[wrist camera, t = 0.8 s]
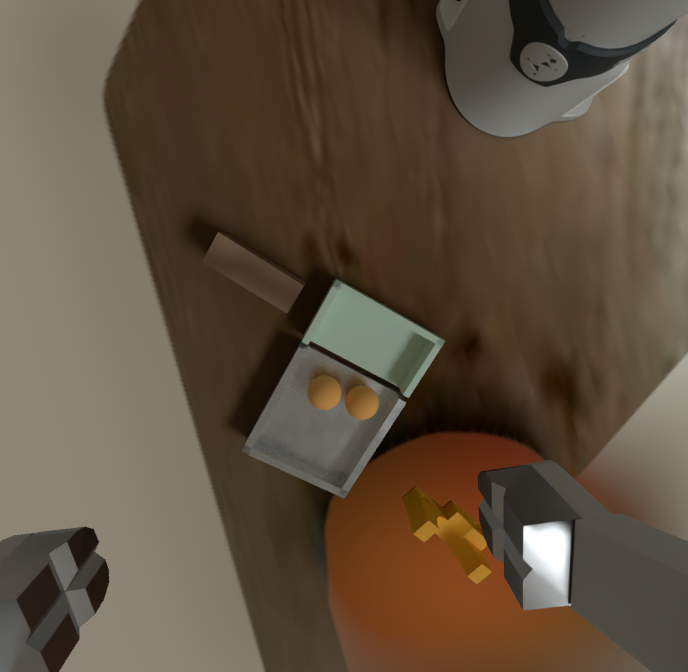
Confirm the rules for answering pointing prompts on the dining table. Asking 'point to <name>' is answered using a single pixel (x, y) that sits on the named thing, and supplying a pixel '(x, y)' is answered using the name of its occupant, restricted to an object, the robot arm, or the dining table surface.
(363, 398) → the ball
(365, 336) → the tray
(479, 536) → the pipe clamp
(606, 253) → the dining table surface
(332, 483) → the grey metal shallow bin
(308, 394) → the ball
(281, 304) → the taupe rectangular slab
